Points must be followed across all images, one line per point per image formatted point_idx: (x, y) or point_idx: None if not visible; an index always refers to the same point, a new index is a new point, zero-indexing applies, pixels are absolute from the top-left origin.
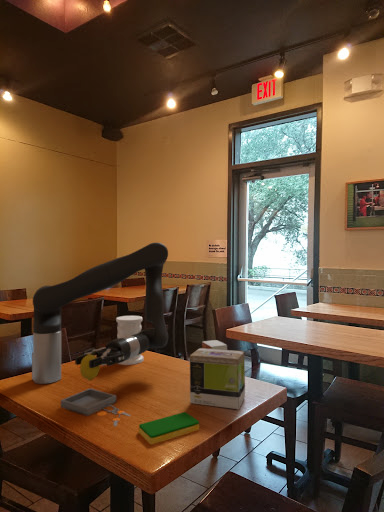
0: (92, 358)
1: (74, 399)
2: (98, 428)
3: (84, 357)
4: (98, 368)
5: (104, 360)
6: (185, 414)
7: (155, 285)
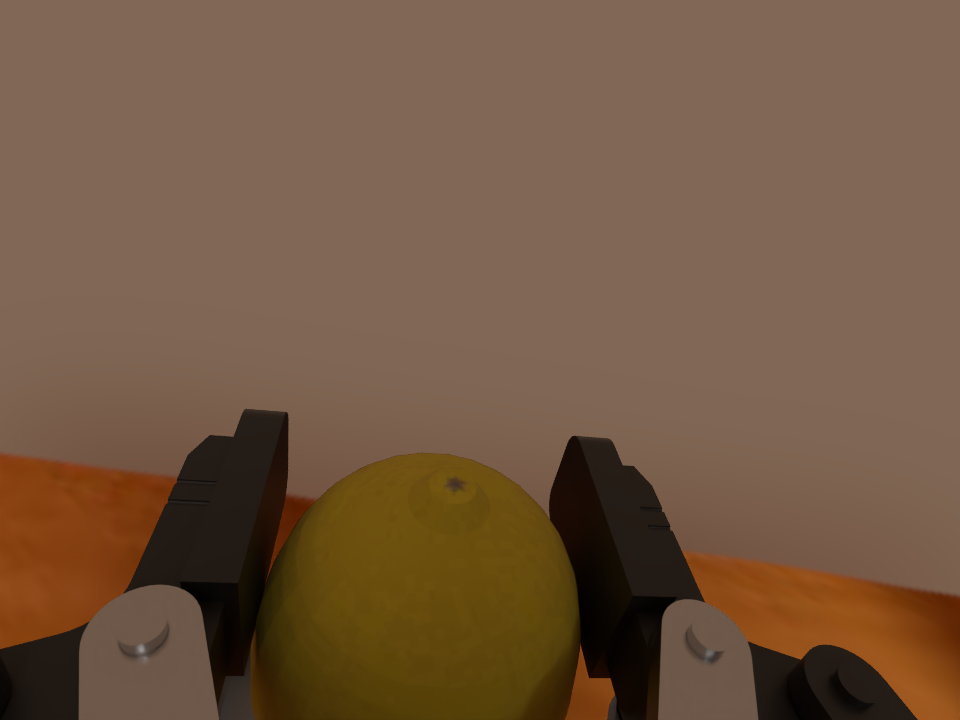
0: (337, 507)
1: None
2: (21, 562)
3: (492, 470)
4: (251, 703)
5: (65, 648)
6: None
7: None
